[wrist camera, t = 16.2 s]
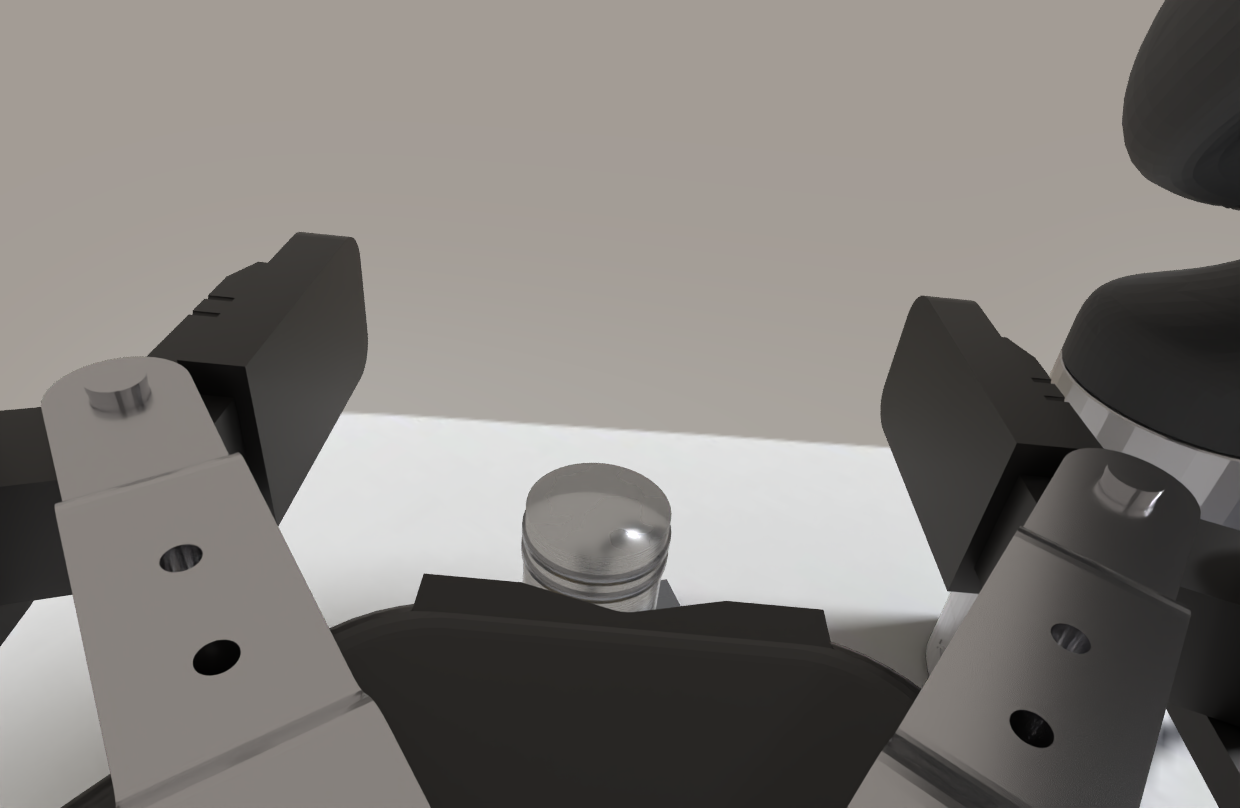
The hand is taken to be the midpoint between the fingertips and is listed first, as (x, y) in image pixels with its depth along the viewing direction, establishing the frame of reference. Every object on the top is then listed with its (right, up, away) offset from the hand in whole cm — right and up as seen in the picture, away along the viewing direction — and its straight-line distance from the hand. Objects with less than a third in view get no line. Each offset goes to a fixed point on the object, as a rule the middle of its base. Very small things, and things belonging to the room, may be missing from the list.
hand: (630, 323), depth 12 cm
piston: (-2, -15, +22) cm, 27 cm away
